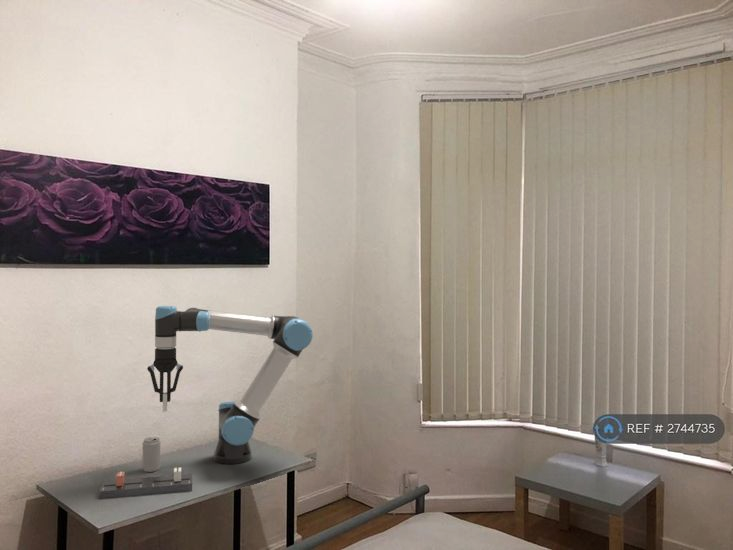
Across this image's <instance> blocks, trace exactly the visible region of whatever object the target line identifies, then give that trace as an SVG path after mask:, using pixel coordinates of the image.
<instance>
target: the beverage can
mask: <svg viewBox="0 0 733 550" xmlns="http://www.w3.org/2000/svg"><path fill="white" fill-rule="evenodd" d="M159 469H161V440H160V437H157V436H150V437H146V438H144V439H143V441H142V470H143V471H144V472H145V473H153V472H156V471H159Z"/></svg>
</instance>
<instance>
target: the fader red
mask: <svg viewBox="0 0 733 550" xmlns="http://www.w3.org/2000/svg"><path fill="white" fill-rule="evenodd" d="M115 477H116V478H115V480H116V486H124V483H125V479H126V471H117V473H116V476H115Z"/></svg>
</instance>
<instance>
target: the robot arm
mask: <svg viewBox="0 0 733 550" xmlns="http://www.w3.org/2000/svg"><path fill="white" fill-rule="evenodd" d="M154 323H155V324H154V334H155V335H154V347H155V349H154V361H153V363H152V364H151V365H148V366H147V368H146V369H147V371H148V372H149V374H150V377H151V378H150V379H151V382H152V387H153V390H154V393H157V394H159V403H162V412H168V402H171V401H172V400H171V395H172V393H173V392H176V391H177V387H178V386H177V385H178V382H179V378H180V373H182V371H183V369H184V365H182V364H179V363H178V360H177V348H176V346H177V333H178V332H207V331H209V330H213V331H223V332H230V333H231V332H232V333H239V334H246V335H247V334H250V335H257V336H266V337H268V338H269V339H270V340H273V341H272V345H273V349H272V350H271V351H270V353H269V355H268V357H267V358H266V359H265V362H264V363H262V366H261V368H260V369H259V371H258V373H256V375H255V377H254V378H253V380H252V382H251V383H250V384H249V387H248V388H247V390H246V391H245V393H244V394H243V396H242V397H241V399H240V400H237V401H235V400H232V401H223V402H220V403H219V405H218V440H217V443H216V446H215V449H214V453H213V460H214V462H216V463H219V464H226V465H236V464H242V463H245V462H248V461H249V460H251V459H252V457H253V454H252V453H253V452H252V448H251V445H250V443H249V441H250V440H251V439H252V437H253V435H254V431H255V427H256V426H257V424H258V422H259V421H260V419H261V414H260V412H261V410H262V408H263V406H264V405H265V404H266V402H267V401H268V399H269V397H270V396H271V394H272V393H273V390H274V389H275V387H276V386H277V384H278V383H279V381H280V380H281V378H282V377H283V375H284V373H285V372H286V370H287V369H288V367H289V366H290V364H291V362H292V360H294V359H298V358H299V356H300V355H301V353H302V352H303V350H304V349H306V348H308V346H309V345H310V344H311V342H312V340H313V331H312V330H313V329H312V328H311V326H310V324H309V323H308V322H307V321H306V320H304V319H302V318H299V317H297V316H291V315H290V316H289V315H287V316H283V315H282V316H281V315H271V316H269V317H267V316H259V315H252V314H243V313H234V312H227V311H218V310H208V309H202V308H201V309H200V308H198V307H188V308H187V309H186V310H185V311H180V310H178V309H177V306H175V305H159V306H157V307H156V308H155V315H154ZM175 368H176V373H175V378H174V382H173V385H172V381H171V380H172V372H173V371H174V370H175ZM155 369H156V370H157V371H158V372H159V387H158V382H157V378H156V374H155ZM165 373H166V392H165V391H164V380H165V379H164V374H165Z"/></svg>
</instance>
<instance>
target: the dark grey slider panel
mask: <svg viewBox="0 0 733 550" xmlns="http://www.w3.org/2000/svg"><path fill="white" fill-rule="evenodd" d="M181 492H182V493H183V492H185V493H186V492H193V473H188V474H187V473H186V474H181V481H176V482H174V474H173V475H172V474H171V475H161V476H149V477H147V476H146V477H136V478H125V483H124V486H116V479H110V480H109V479H108V480H103V481H102V484H101V486H100V489H99V493H98V494H99V495H98V497H99V500H100V499H113V498H126V497H135V496H136V497H139V496H149V495H150V496H151V495H160V494H172V493H181Z"/></svg>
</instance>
